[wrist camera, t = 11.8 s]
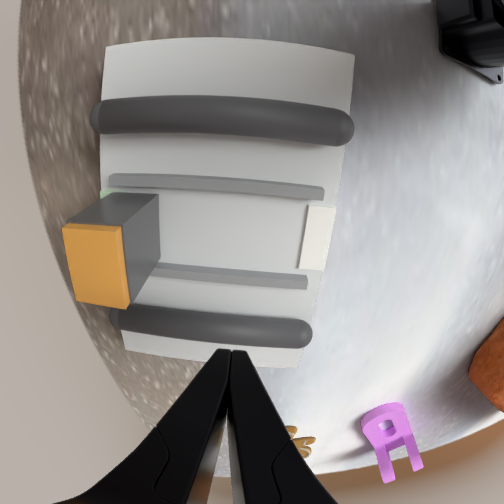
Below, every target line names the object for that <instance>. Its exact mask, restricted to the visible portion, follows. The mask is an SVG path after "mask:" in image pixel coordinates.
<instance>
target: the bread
mask: <svg viewBox="0 0 504 504" xmlns="http://www.w3.org/2000/svg"><path fill="white" fill-rule="evenodd" d="M468 374H469V378H470V381H472V382H473V383H474V384H475V385H476V386H477V387H478V389H479V390H480V391H481V392H482V394H483V395H484V396H485V397H486V398H487V399H488V400H489V401H490V402H491V403H492V404H493V405H494V406H496V407H497V408H498V409H499V410H500V411H502V412H504V318H503V319H502V320H501V322H500V323H499V324H498V326H497V327H496V328H495V329H494V331H493V332H492V333H491V334H490V336H489V337H488V338H487V339H486V340H485V341H484V342H483V344H482V345H481V346H480V348H479V349H478V351H477V352H476V354H475V356H474V358H473V361H472V363H471V366H470V368H469V372H468Z"/></svg>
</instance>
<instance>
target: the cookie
mask: <svg viewBox="0 0 504 504" xmlns="http://www.w3.org/2000/svg"><path fill="white" fill-rule="evenodd" d="M285 427H286V429H287V431H288V432H289V434H290V436H291V440H293V441H294V443H295V445H296V447H297V449H298V450H299V452H300V454H301V455H302V457H303V459H304V458H307V457H308V456H309V455H310V454H311V448H310V447H308V446H305V445H309V444H312V443H314V442H315V440H316V438H314V437H302V438H295V439H292V438H293V437H294V435H295V434H296V432H297V428H296V427H295V426H285Z"/></svg>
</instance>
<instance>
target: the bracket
mask: <svg viewBox="0 0 504 504" xmlns="http://www.w3.org/2000/svg"><path fill="white" fill-rule="evenodd" d="M385 420H392V422H393V424H394V426H393V427H391V428H390V429H387V430H381V428H380V426H379V425H378V424H379V423H381V422H382V421H385ZM361 427H362V431H363V433H364V434H365V436H366V437H367V439H368V440H369V441H370V443H371V444H372V445H373V447H374V449H375V452H376V456H377V460H378V465H379V469H380V473H381V476H382V479H383V481H384V483H388V482H391V481H393V480H395V475H394V471H393V467H392V463H391V460H390V456H389V452H388V451H391V450H393V449H395V448H398V447H400V446H402V445H406V448H407V452H408V455H409V458H410V461H411V464H412V467H413V470H414V471H417V470H419V469H421V468H423V464H422V460H421V457H420V454H419V451H418V448H417V445H416V442H415V439H414V437H413V434H412V431H411V428H410V425H409V422H408V419H407V416H406V413H405V410H404V408H403V405H402V404H400V403H387V404H384V405H381V406H378V407H376V408H374V409H372V410H371V411H369V412H368V413H366V414H365V415H364V416H363V418H362V419H361Z"/></svg>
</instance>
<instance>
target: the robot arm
mask: <svg viewBox="0 0 504 504" xmlns="http://www.w3.org/2000/svg"><path fill="white" fill-rule="evenodd" d="M436 2H437V17H438V26H439V50H440V52H441V54H442V55H444V56H445V57H448V58H450V59H452V60H454V61H456V62H458V63H460V64H462V65H464V66H466V67H468V68H470V69H471V70H473V71H475V72H477V73H479V74H481V75H482V76H484V77H486V78H488V79H489V80H491V81H493V82H494V83H496V84H502V83H503V67H504V0H436ZM445 48H446V49H447V52H446V50H445ZM497 77H498V78H497ZM227 407H228V409H227ZM226 417H227V429H228V444H229V458H230V471H231V483H232V495H233V504H338V503H337V502H336V501H335V500H334V499H333V497H332V496H331V495H330V494H329V492H328V491H327V490H326V489H325V487H324V486H323V485H322V484H321V483H320V481H319V480H318V479H317V477H316V476H315V475H314V473H313V472H312V471H311V469H310V468H309V466H308V465H307V463H306V462H305V460H304V459H303V457H302V455H301V454H300V452H299V450H298V449H297V447H296V445H295V443H294V441H293V440H291V436H290V434H289V432H288V431H287V429H286V427H285V425H284V423H283V421H282V419H281V417H280V416H279V414H278V412H277V410H276V408H275V406H274V404H273V402H272V400H271V398H270V396H269V394H268V392H267V391H266V389H265V387H264V385H263V383H262V381H261V379H260V377H259V375H258V373H257V371H256V369H255V367H254V365H253V363H252V361H251V359H250V357H249V355H248V353H247V351H245V350H236V349H234V350H232V351H231V349H225V348H218V349H216V351H215V352H214V353H213V354H212V356H211V357H210V358H209V360H208V361H207V362H206V363H205V365H204V366H203V367H202V369H201V370H200V371H199V372H198V374H197V375H196V376H195V377H194V379H193V380H192V381H191V383H190V384H189V385H188V386H187V388H186V389H185V390H184V391H183V393H182V394H181V395H180V396H179V398H178V399H177V400H176V401H175V403H174V404H173V405H172V406H171V408H170V409H169V410H168V411H167V412H166V414H165V415H164V416H163V417H162V419H161V420H160V421H159V422H158V423H157V425H156V427H154V428H153V429H152V431H151V432H150V433H149V434H148V436H147V437H146V438H145V439H144V440H143V441H142V442H141V443H140V445H139V446H138V447H137V448H136V449H135V450H134V451H133V452H132V453H131V454H130V455H128V457H126V458H125V459H124V460H123V461H122V462H121V463H120V464H119V465H118V466H116V467H115V468H114V469H113V470H112V471H111V472H109V473H108V474H107V475H106V476H105V477H103V478H102V479H101V480H100V481H99V482H97V483H96V484H95V485H94V486H93V487H91V488H90V489H89V490H87V491H86V492H84V493H82V494H81V495H79V496H76V497H74V498H71V499H68V500H65V501H61V502H57V503H54V504H207V500H208V496H209V492H210V487H211V483H212V479H213V475H214V471H215V466H216V462H217V458H218V453H219V449H220V445H221V440H222V436H223V432H224V427H225V423H226Z"/></svg>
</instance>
